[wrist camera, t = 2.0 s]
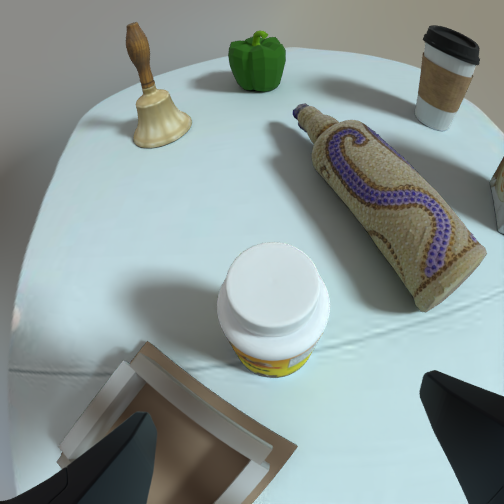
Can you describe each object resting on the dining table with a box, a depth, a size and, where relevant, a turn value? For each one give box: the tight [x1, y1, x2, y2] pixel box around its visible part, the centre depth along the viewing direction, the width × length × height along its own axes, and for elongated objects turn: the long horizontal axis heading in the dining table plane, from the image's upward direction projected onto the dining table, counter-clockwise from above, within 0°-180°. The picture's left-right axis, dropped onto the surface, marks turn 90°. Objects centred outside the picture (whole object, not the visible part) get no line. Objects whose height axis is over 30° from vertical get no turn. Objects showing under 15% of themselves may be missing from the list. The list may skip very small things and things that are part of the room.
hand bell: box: [126, 22, 192, 148], centre depth 30 cm, size 8×8×16 cm
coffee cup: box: [415, 26, 480, 131], centre depth 29 cm, size 8×8×15 cm
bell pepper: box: [228, 31, 286, 92], centre depth 37 cm, size 8×8×10 cm
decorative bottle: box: [293, 104, 487, 312], centre depth 25 cm, size 26×8×7 cm, turn 23°
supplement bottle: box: [217, 242, 330, 378], centre depth 16 cm, size 6×6×10 cm
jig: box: [57, 341, 298, 504], centre depth 15 cm, size 13×13×4 cm
